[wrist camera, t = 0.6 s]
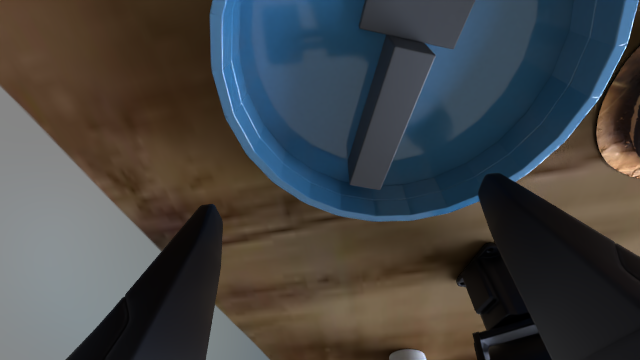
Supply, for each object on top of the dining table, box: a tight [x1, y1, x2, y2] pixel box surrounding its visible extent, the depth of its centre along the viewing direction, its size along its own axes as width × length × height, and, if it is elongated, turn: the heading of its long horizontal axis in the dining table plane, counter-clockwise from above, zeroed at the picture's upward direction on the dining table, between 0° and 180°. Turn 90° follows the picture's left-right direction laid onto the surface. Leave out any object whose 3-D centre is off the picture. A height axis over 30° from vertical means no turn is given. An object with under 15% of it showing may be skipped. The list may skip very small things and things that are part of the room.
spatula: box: [348, 0, 475, 190], centre depth 17 cm, size 15×6×3 cm, turn 169°
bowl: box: [210, 0, 639, 222], centre depth 17 cm, size 20×20×4 cm
